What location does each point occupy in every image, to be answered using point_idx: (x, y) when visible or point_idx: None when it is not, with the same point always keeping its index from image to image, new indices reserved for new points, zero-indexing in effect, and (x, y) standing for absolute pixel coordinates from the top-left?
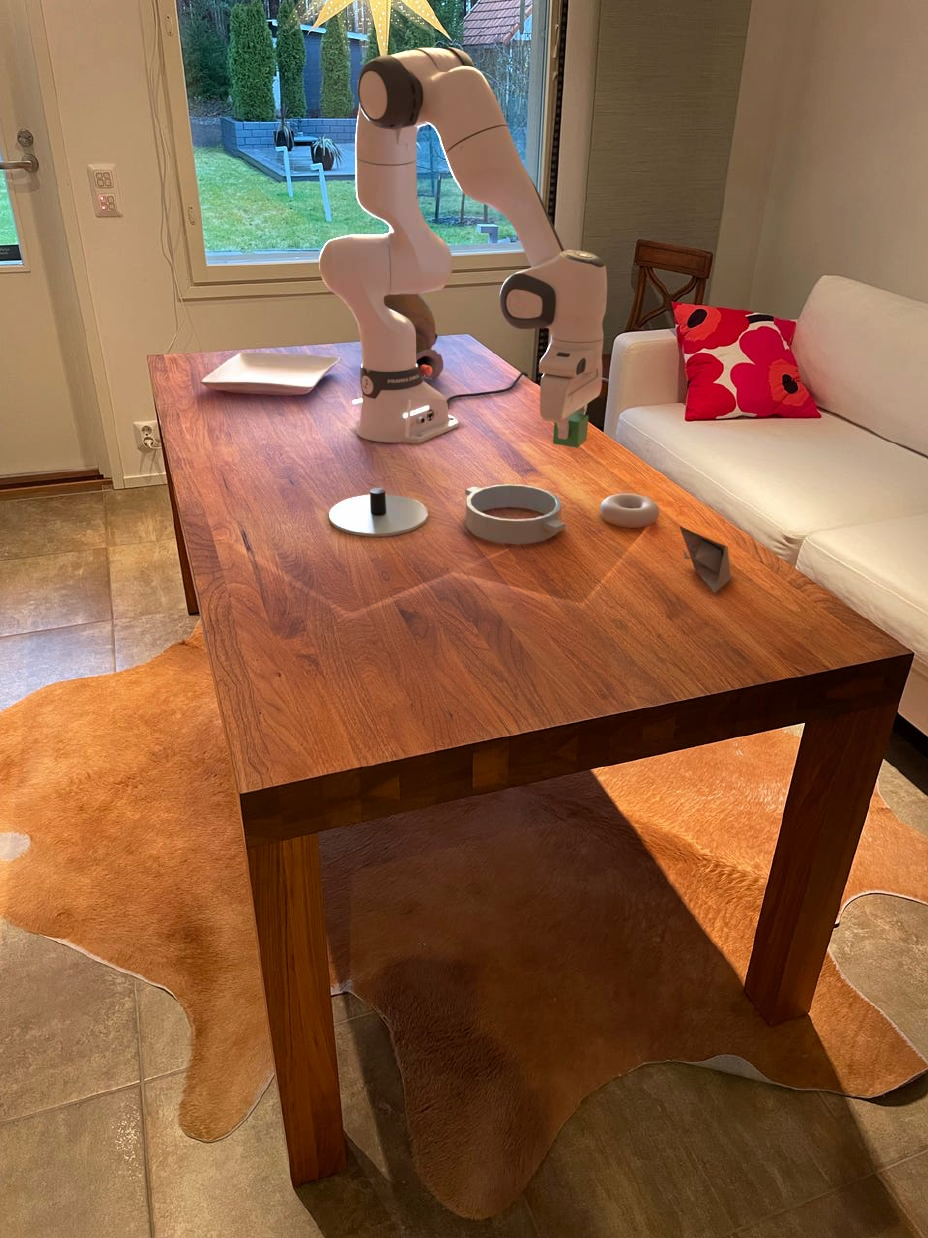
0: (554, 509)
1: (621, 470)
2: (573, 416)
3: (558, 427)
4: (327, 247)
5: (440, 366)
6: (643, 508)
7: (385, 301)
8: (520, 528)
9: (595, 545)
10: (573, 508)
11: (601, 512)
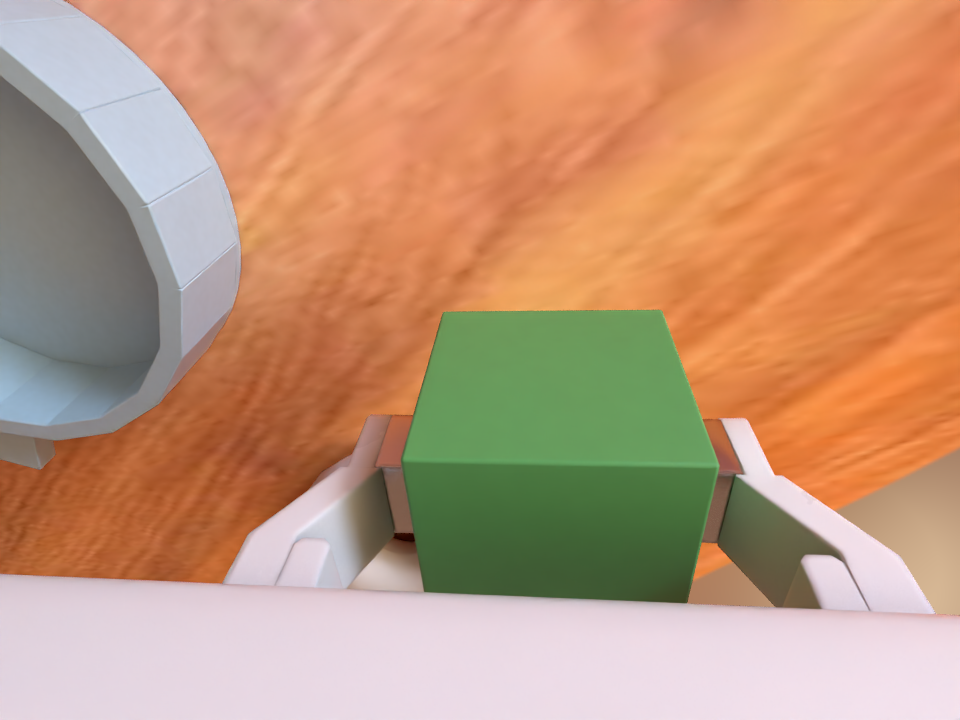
0: (52, 426)
1: (930, 367)
2: (572, 572)
3: (332, 481)
4: None
5: None
6: None
7: None
8: None
9: (175, 480)
10: (378, 340)
11: (324, 473)
